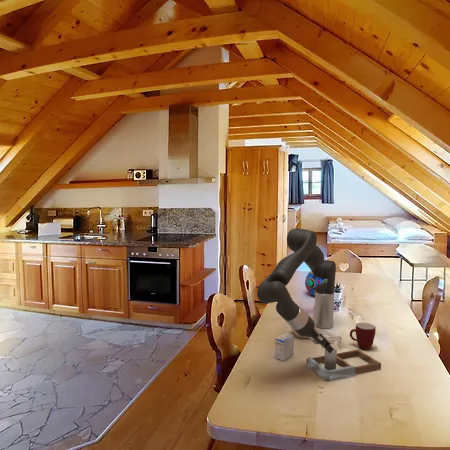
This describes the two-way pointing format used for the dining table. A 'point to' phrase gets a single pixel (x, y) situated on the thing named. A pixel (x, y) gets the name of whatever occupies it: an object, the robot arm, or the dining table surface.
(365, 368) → the divider rack
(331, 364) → the grey dome-topped cylinder
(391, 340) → the dining table surface
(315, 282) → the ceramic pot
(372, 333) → the mug
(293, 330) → the teacup
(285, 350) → the medicine box
